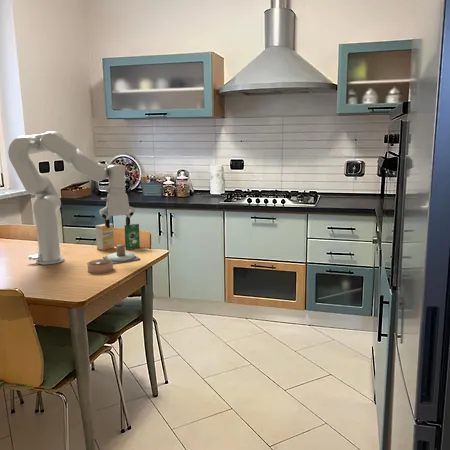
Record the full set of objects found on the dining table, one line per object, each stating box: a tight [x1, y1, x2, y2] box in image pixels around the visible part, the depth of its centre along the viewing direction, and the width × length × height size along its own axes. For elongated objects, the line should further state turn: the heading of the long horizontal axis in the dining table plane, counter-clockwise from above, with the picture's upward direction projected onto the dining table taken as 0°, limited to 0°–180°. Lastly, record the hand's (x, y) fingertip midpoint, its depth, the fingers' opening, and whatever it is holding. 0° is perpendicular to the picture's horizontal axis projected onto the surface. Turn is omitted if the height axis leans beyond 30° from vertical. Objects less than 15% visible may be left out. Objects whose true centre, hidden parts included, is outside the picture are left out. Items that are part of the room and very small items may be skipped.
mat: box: [102, 255, 141, 265], centre depth 229 cm, size 14×14×1 cm
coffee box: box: [124, 222, 141, 251], centre depth 248 cm, size 8×3×13 cm, turn 142°
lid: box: [106, 243, 136, 261], centre depth 228 cm, size 13×13×6 cm
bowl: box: [86, 258, 114, 275], centre depth 211 cm, size 11×11×4 cm
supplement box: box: [95, 223, 115, 251], centre depth 249 cm, size 8×5×13 cm, turn 148°
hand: (117, 226), depth 226 cm, fingers open, 9 cm apart
